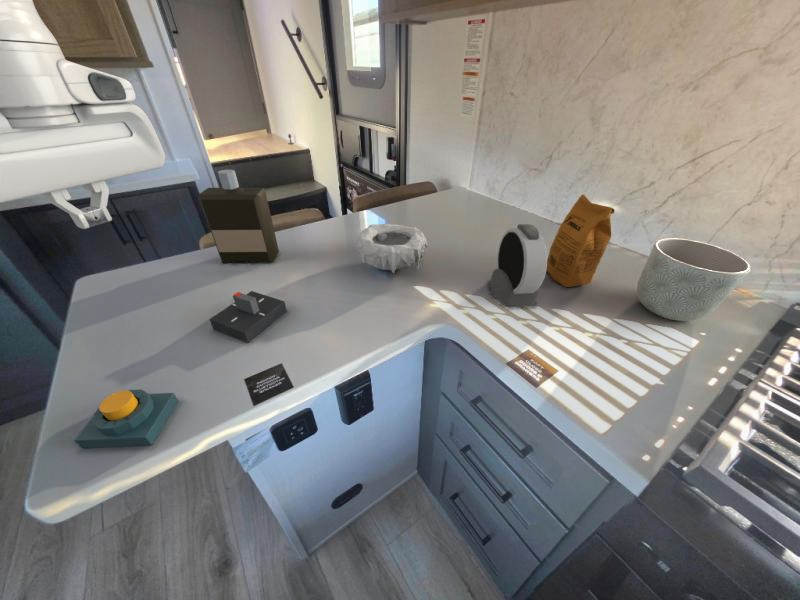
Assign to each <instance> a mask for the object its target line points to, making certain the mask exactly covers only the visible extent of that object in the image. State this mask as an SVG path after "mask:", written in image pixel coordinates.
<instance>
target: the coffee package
mask: <svg viewBox="0 0 800 600" xmlns="http://www.w3.org/2000/svg"><path fill="white" fill-rule="evenodd" d="M614 213H615V208H614V207H611V206H607V205H602V204H598V203H592V202H591V200H590V199H588V197H587V196H586V195H585V194H581V195H580V196H579V197H578V199H577V201H576V202H575V203H574V204H573V206H572V207H571V209H570V211H569V212H568V214H566V216H565V218H564V219H563V221H562V222H561V223H560V226H559V228H558V230H557V232H556V235H555V237H554V239H553V241H552V244H551V245H550V247H549V251H548V255H547V269H546V273H549V275H550V277H551V279H552V280H553V281H554V282H556V283H557V284H560V285H561V286H563V287H564V288H571V287H577V286H582V285H588V284H591V282H592V281H593V278H594V276H595V273H596V270H597V268H598V266H599V264H600V263H601V260H602V258H603V256H604V254H605V252H606V249H607V246H608V245H609V243H610V241H611V240H612V224H611V223H612V222H611V215H613V214H614Z"/></svg>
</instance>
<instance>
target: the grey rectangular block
mask: <svg viewBox="0 0 800 600" xmlns="http://www.w3.org/2000/svg"><path fill="white" fill-rule="evenodd" d="M232 299H233V301H234V302H235V304H236V307H237V309H240V310H243V311H245V312H248V313H251V314H256V313H257V312H258V311H259V307H258V304H257V301H256V298H255V297H251V296H248V295H246V294H245V293H242V292H240V291H237V292H236V293H234V294H233V295H232Z"/></svg>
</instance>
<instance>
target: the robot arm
mask: <svg viewBox="0 0 800 600" xmlns="http://www.w3.org/2000/svg"><path fill="white" fill-rule="evenodd" d="M136 96H137V95H136V92H135V89H134V87H133V85H132V83H131V82H130V81H129V80H127V79H125V78H124V77H120V76H118V75H114V74H111V73H107V72H104V71H101V70H98V69H95V68H92V67H88V66H85V65H82V64H79V63H76V62H73V61H70V60H68V59H66V57H65V55H64V53H63V51H62V49H61V47H60V45H59V42H58V41H57V39H56V37H55V36H54V35H53V33H52V32H51V31H50V29H49V28H48V27H47V25H46V24H45V22H44V21H43V19H42V18H41V16H40V15H39V13H38V10H37V9H36V6H35V4H34V1H33V0H0V204H3V203H7V202H13V201H17V200H20V199H25V198H30V197H34V196H40V195H42V197H43V198H44V199H45V201H47V202H49V203H50V204H52V205H54V206H55V207H57V208H58V209H60V210H62V211H64V212H65V213H67V214H69V216H70V218H71V220H72V221H73V223H74V224H75V226H76V227H78V228H79V229H83V230H86V229H90V228H93V227H96V226H99V225H102V224H106V223H109V222H112V221H113V217H112V216H111V213H110V212H109V210H108V208H107V207H108V203H109V202H108V201H109V196H110V195H109V194H110V189H109V186H108V184H107V183H106V181H108V180H111V179H112V180H113V179H117V178H121V177H125V176H130V175H135V174H139V173H144V172H149V171H153V170H159V169H162V168H163V167H164V165H165V162H166V152H165V150H164V148H163V145H162V143H161V141H160V139H159V137H158V134H157V132H156V130H155V128H154V125H153V124H152V122H151V120H150V118H149V117H148V115H147V114H146V112H145V111H144V109H142V108H141V107H139V106H138V105H136V104H134V103H132V102H135V100H136V98H137V97H136ZM79 186H80V187H81V186H82V187H83V189H84V190H85V191H88V192H90V204H89V206H86V207H83V208H77V207H76V206H75V205H73V204H72V203H70V202H68V201H69V200H71V199H72V196H71V195H70V193H69V191H68V189H72V188H75V187H79Z"/></svg>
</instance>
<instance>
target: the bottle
mask: <svg viewBox="0 0 800 600" xmlns="http://www.w3.org/2000/svg"><path fill="white" fill-rule="evenodd" d="M217 175H218V178H219V181H220V185H221V187H207V188H206V189H204V190H203V191H201V192H200V193H198V199H199V202H200V204H201V208H202V210H203V213H204V216H205V219H206V222H207V224H208V227H209V230H210V233H211V235H212V238H213V241H214V244H215V247H216V250H217V253H218V255H219V259H220V261H221V263H222V264H236V263H238V264H240V263H242V264H244V263H249V264H250V263H274V262H275V260H276V259H277V257H278V254H279V253H280V249H279V246H278V240H277V237H276V231H275V228H274V223H273V219H272V215H271V210H270V205H269V202H268V197H267V193H266V190H265V188H264V187H241V186H240V185H239V181H238V177H237V174H236V170H234V169H221V170H218V171H217Z"/></svg>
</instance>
